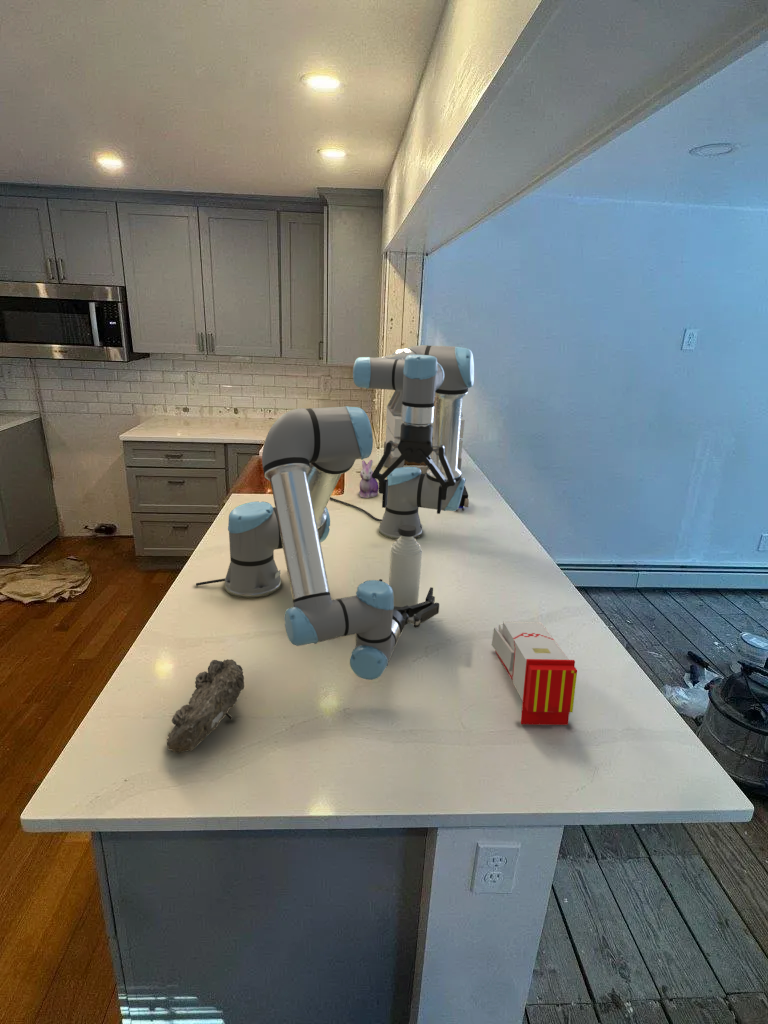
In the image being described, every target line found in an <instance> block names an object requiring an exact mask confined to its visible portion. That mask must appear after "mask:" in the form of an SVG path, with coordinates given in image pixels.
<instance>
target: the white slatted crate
mask: <svg viewBox="0 0 768 1024" xmlns="http://www.w3.org/2000/svg"><path fill="white" fill-rule="evenodd" d="M402 399H403V391H398V390H394V392H393V394H392V395H391V398H390V400H389V402H388V404H387V405H386V413H385V414H386V415H385V423H386V428H385V438H384V442H383V454H384V453H385V450H386V444H387V443H388V442H389V441H390V440H391V441H393V442H395V443H399V442H400V432H401V424H402V423H404V422H402V421H401V413H402ZM434 413H435V400H434ZM431 425H432V426H433V430H434V418H433V423H432V424H431ZM464 429H465V419H464V418H463V411H462V412H461V425H460V438H459V451H458V464H457V468H458V469H459V470H460V471H461V472H462V461H463V460H462V453H463V442H464V441H463V440H462V439H463V438H464V431H465V430H464ZM432 445H433V431H432ZM400 455H401V453H400V452H399V450H398V448H395V450H394V451H391V453H390V455H389V457H388V459H387V460H386V462H385V464H384V465H383V467H387V468H389V467H390V466H391V465H392V464H393V463H394V462H395V461H396V460H397V459H398V458H399V456H400ZM429 456H430V457H431V459H432V453H431V454H430V455H429ZM405 466H406V467H417V466H418V467H427V466H426V465H425V463H424V462H422V463H415V462H411V463H409V462H407V461H406V460H405V459H404V460H403V461H402V462H401V463H400V464H399V465H398V466H397V467H396V468H401V467H405ZM396 468H395V469H396Z"/></svg>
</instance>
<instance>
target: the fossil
mask: <svg viewBox="0 0 768 1024" xmlns="http://www.w3.org/2000/svg"><path fill="white" fill-rule="evenodd" d="M243 670H244V669H243V667H242V665H240V664H237V662H236V661H235V660H234V659H232V658H231V659H227V658H226V659H224V660H223V661H222V660H217V659H212V660H211V661H210V663H209V665H208V666H207V671H201V672H199V673H198V674H197V675H196V676H195V680H194V684H195V685H194V687H195V689H194V690H193V693H192V694H191V697H190V698H189V700H188V704H184V705H182V706H181V707H180V709H177V710H176V711H175V713H174V715H173V716H172V718H171V723H172V724H173V727H172V730H171V731H170V732H168V734H167V738H166V741H167V742H166V745H167V749H168V750H169V751H173V752H174V753H176V754H178V753H182V752H188V751H189V752H192V751H193V750H195V748H196V747H197V746H199V744H200V743H201V742H203V741H204V740H205V739H206V738H207V737H208V736H209V735H210V734H211V733H212V732H214V730H215V729H217V727H218V726H219V724H220V722H221V721H222V720H223V719H224V718H225V716H226V717H227V719H229V720H233V717H232V715H230V714H229V710H230V709H231V708H234V706H235V704H236V703H237V702H238V699H239V697H240V695H241V693H242V691H243V690H245V689H244V688H245V675H244V671H243Z"/></svg>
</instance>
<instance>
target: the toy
mask: <svg viewBox="0 0 768 1024" xmlns="http://www.w3.org/2000/svg"><path fill="white" fill-rule="evenodd" d="M491 646H492V647H493V649H494V652H495V654H496V656H497V657H498V659H499V661H500V662H501V664H502V666H503V668H504V669H505V671H506V672H507V675H508V676H509V678H510V679H511V681H512V684H513V685H514V687H515V689H516V691H517V693H518V695H519V697H520V699H521V702H522V703H521V715H520V725H537V726H538V725H539V726H541V725H543V726H568V725H569V719H570V713H573V712H574V703H575V694H576V685H577V678H578V677H577V676H578V669H577V668H576V667H575V664H576V660H575V659H569V657H568V656H567V655H566V653H565V651H563V650H562V648H561V647H560V646H559V644H558V643H557V642H556V640H555V639H554V637H553V636H552V635H551V633H550V632H549V631H548V629H547V628H546V627H545V625H544V624H543V622H541V621H502V623H499V624H498V628H497V627H493V630H492V640H491Z"/></svg>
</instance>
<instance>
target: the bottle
mask: <svg viewBox="0 0 768 1024" xmlns="http://www.w3.org/2000/svg"><path fill="white" fill-rule="evenodd" d="M422 555H423V549H422V547H421V544H420V543H419V542H418V540H416V538H414V537H413V536H412V537H405V536H401V537H399V539H397V540H395V541H394V542H393V543H392V544H391V547H390V557H389V574H388V585H389V586H390V587H391V588H392V589H393V596H394V606H396V607H404V606H407V605H408V606H412V605H416V604H419V597H420V583H421V581H420V580H421V571H422V570H421V568H422V557H423V556H422ZM405 612H406V611H405Z"/></svg>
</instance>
